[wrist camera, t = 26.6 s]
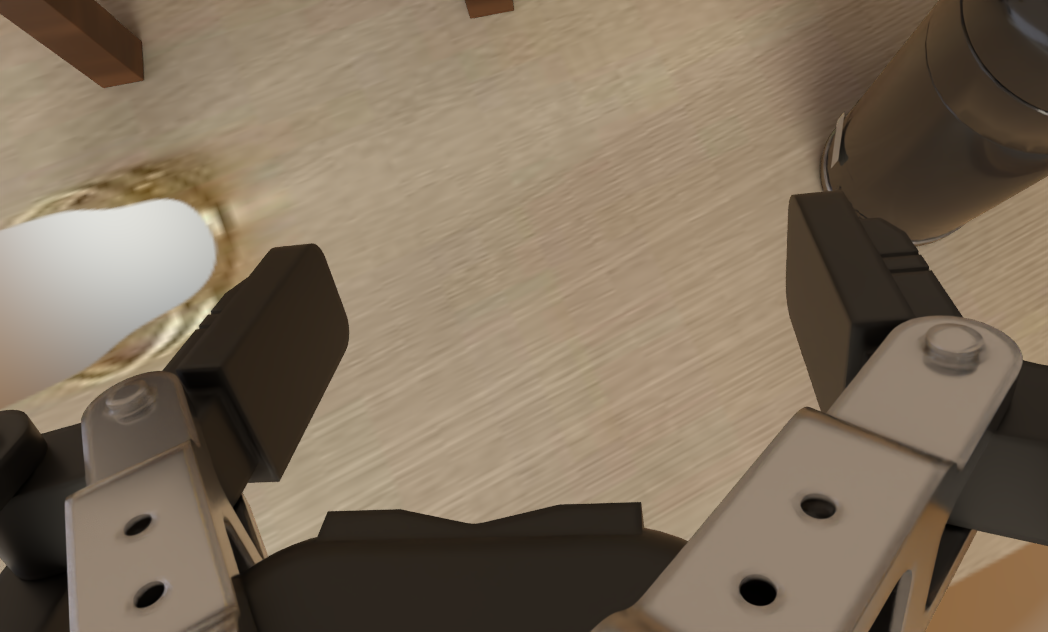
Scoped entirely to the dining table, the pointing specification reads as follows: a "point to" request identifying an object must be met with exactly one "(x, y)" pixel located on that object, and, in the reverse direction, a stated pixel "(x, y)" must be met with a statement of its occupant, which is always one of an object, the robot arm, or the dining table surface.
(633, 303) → the dining table surface
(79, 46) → the hob stand
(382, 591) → the robot arm
